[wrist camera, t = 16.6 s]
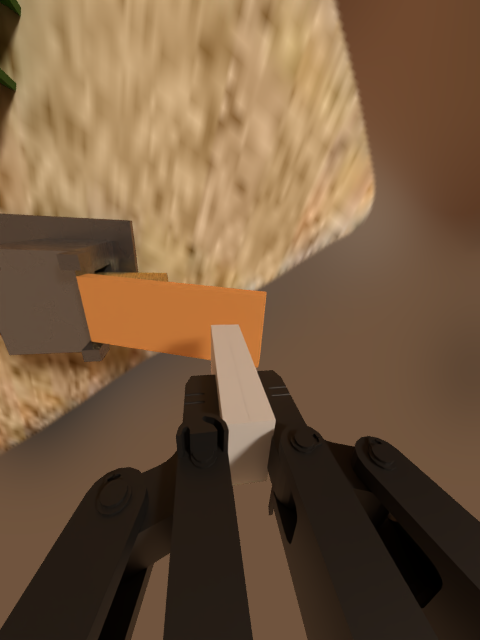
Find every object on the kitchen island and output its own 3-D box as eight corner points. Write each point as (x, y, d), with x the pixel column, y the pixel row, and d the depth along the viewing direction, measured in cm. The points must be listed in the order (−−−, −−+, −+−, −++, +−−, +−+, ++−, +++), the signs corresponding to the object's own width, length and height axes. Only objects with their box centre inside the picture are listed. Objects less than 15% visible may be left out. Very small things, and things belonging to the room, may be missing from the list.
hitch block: (-58, 210, 20) (-279, 202, 11) (131, 220, 23) (86, 221, 14) (-8, 330, 25) (-131, 396, 16) (145, 326, 28) (117, 381, 18)
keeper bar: (76, 276, 15) (264, 296, 13) (88, 273, 16) (266, 291, 14) (91, 341, 17) (257, 367, 15) (101, 335, 18) (259, 359, 16)
